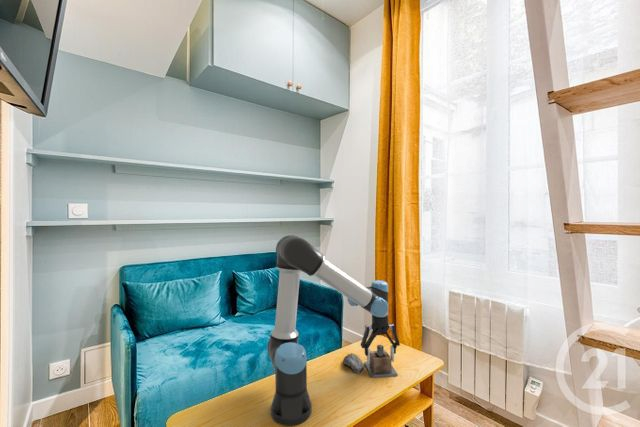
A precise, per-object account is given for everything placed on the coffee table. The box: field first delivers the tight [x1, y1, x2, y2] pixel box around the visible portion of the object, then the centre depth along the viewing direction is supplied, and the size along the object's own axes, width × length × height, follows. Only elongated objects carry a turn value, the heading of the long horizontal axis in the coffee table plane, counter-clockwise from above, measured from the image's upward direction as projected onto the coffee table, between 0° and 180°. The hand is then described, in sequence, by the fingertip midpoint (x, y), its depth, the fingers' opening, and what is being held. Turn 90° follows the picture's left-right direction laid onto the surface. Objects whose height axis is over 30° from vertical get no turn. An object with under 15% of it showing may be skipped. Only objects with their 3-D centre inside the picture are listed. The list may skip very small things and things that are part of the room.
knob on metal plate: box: [363, 344, 398, 379], centre depth 138 cm, size 12×12×11 cm
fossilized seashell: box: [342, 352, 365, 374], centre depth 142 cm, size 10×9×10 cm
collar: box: [370, 349, 392, 373], centre depth 138 cm, size 8×8×6 cm
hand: (380, 361), depth 138 cm, fingers open, 11 cm apart
